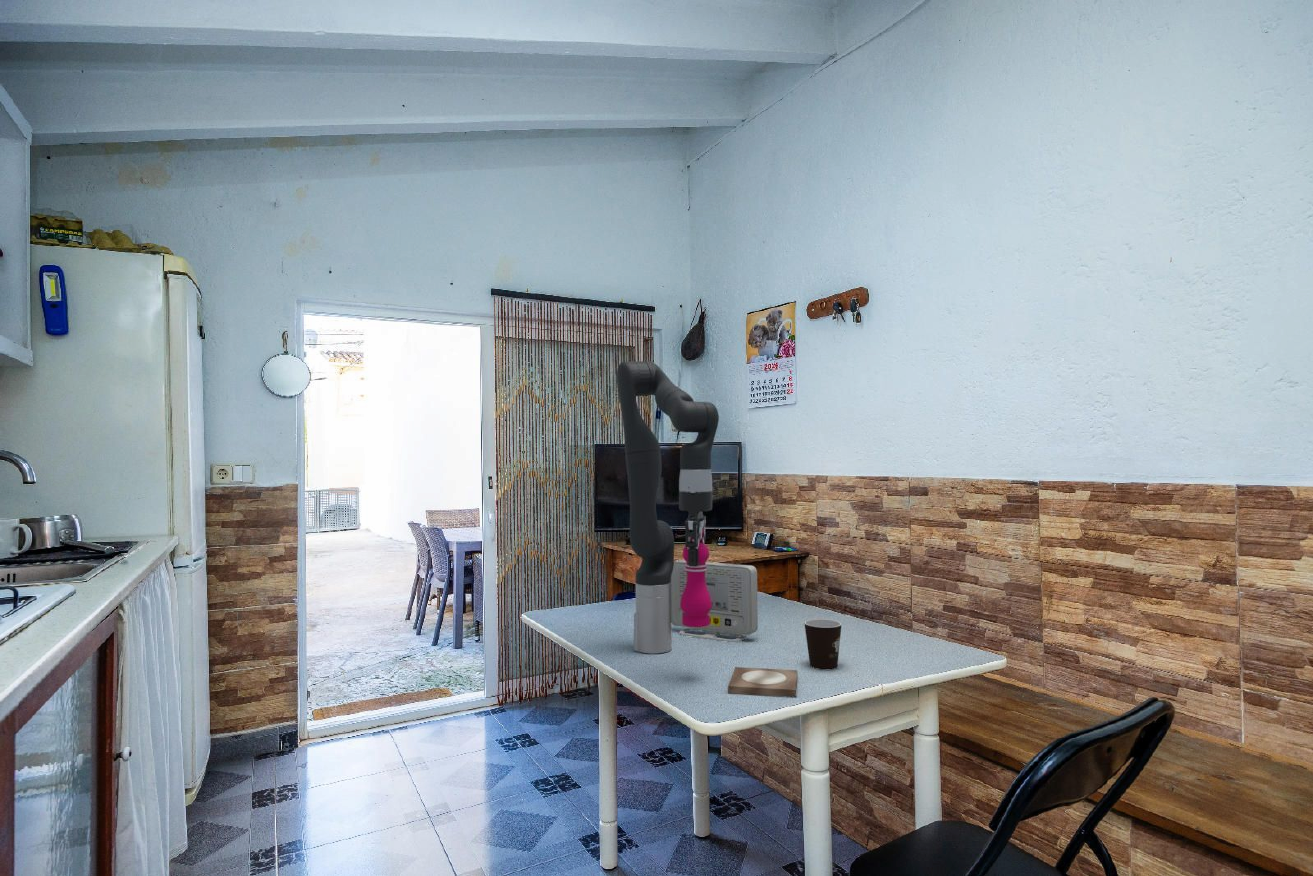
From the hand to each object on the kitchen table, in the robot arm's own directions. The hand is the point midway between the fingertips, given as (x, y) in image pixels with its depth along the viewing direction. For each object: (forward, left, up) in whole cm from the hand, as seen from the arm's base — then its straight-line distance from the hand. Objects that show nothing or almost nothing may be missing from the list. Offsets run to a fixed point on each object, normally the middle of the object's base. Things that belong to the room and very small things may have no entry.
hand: (695, 563), depth 162 cm
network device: (-2, +39, -26) cm, 47 cm away
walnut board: (+15, -2, -26) cm, 30 cm away
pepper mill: (0, 0, -14) cm, 14 cm away
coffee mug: (+29, +16, -26) cm, 42 cm away
